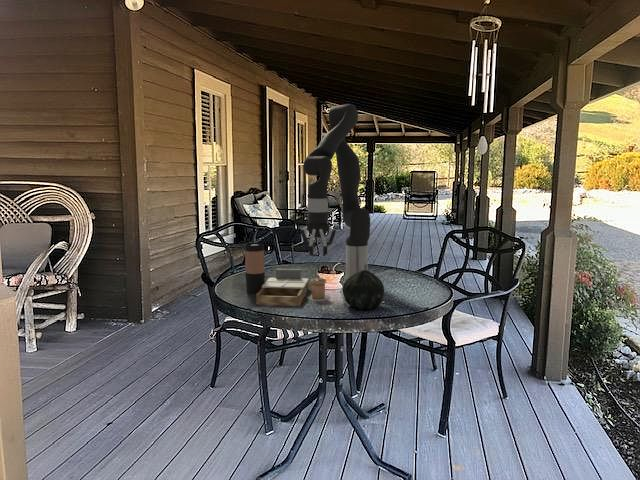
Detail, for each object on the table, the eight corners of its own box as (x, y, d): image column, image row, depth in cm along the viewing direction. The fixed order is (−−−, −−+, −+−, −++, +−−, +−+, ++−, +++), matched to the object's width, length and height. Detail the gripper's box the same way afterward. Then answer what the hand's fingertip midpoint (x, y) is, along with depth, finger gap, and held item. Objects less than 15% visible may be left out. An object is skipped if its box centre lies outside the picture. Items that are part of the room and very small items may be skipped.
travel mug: (242, 294, 202) (241, 245, 199) (251, 289, 209) (250, 242, 206) (259, 296, 199) (258, 246, 196) (268, 291, 206) (267, 243, 203)
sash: (308, 279, 205) (308, 269, 205) (303, 288, 191) (303, 277, 190) (269, 279, 207) (269, 268, 206) (261, 287, 193) (261, 276, 192)
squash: (362, 284, 195) (348, 259, 185) (396, 291, 186) (382, 266, 176) (345, 314, 189) (329, 290, 179) (379, 323, 179) (364, 298, 170)
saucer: (331, 296, 197) (331, 294, 197) (329, 303, 189) (329, 301, 188) (308, 296, 198) (308, 294, 198) (305, 302, 190) (305, 300, 189)
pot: (326, 295, 196) (326, 278, 195) (325, 300, 190) (325, 281, 189) (311, 295, 196) (311, 277, 195) (309, 299, 191) (309, 281, 190)
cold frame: (308, 291, 206) (308, 280, 206) (299, 307, 183) (299, 295, 182) (270, 290, 208) (269, 279, 207) (256, 306, 184) (256, 294, 184)
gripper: (337, 209, 191) (337, 254, 194) (300, 209, 193) (301, 253, 195) (336, 211, 184) (336, 257, 186) (297, 211, 185) (298, 257, 188)
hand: (318, 255), depth 191 cm, fingers open, 4 cm apart
